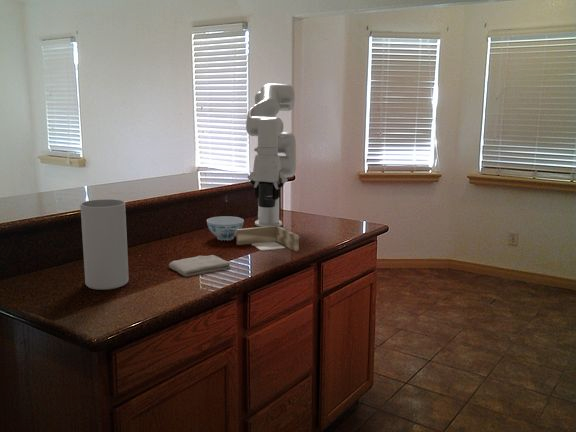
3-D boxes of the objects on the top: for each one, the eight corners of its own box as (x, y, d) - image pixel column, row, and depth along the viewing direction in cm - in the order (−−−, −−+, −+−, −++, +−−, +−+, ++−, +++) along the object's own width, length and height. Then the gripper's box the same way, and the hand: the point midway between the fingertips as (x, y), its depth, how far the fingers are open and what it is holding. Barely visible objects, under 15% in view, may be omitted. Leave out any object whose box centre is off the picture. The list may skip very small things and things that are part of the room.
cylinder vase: (113, 274, 169) (109, 197, 164) (137, 283, 162) (133, 203, 156) (77, 283, 160) (72, 203, 155) (100, 293, 152) (95, 209, 147)
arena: (236, 244, 208) (236, 229, 207) (277, 239, 216) (277, 225, 215) (254, 256, 192) (255, 240, 191) (298, 250, 200) (298, 235, 199)
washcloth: (232, 269, 179) (232, 260, 178) (185, 278, 168) (184, 269, 167) (214, 260, 188) (214, 252, 187) (168, 269, 177) (168, 260, 176)
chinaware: (246, 234, 223) (246, 217, 221) (239, 244, 208) (240, 225, 207) (211, 233, 224) (211, 215, 223) (202, 242, 210) (202, 223, 208)
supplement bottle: (267, 208, 197) (268, 177, 195) (254, 206, 201) (254, 175, 199) (279, 206, 203) (280, 175, 200) (265, 203, 207) (266, 173, 204)
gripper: (242, 151, 197) (242, 198, 201) (286, 153, 191) (285, 202, 195) (250, 149, 203) (249, 195, 207) (292, 152, 198) (291, 198, 202)
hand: (267, 198), depth 201 cm, fingers closed on supplement bottle, 6 cm apart
